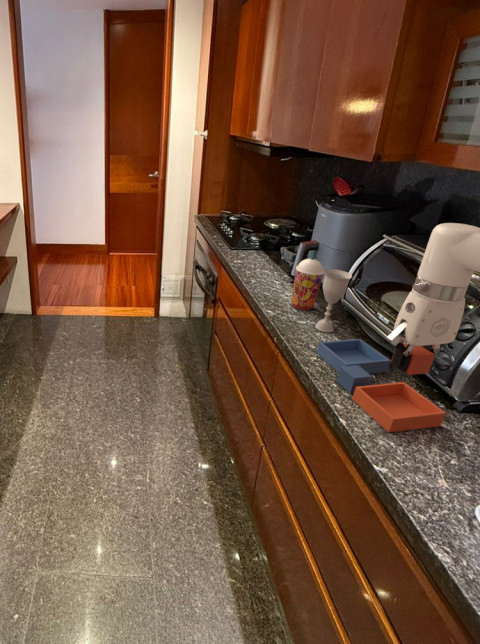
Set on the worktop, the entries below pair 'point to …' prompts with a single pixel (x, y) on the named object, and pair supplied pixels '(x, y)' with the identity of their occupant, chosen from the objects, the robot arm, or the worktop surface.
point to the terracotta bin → (398, 407)
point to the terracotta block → (419, 360)
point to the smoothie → (307, 283)
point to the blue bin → (353, 355)
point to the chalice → (332, 294)
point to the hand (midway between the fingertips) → (409, 366)
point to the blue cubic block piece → (353, 377)
